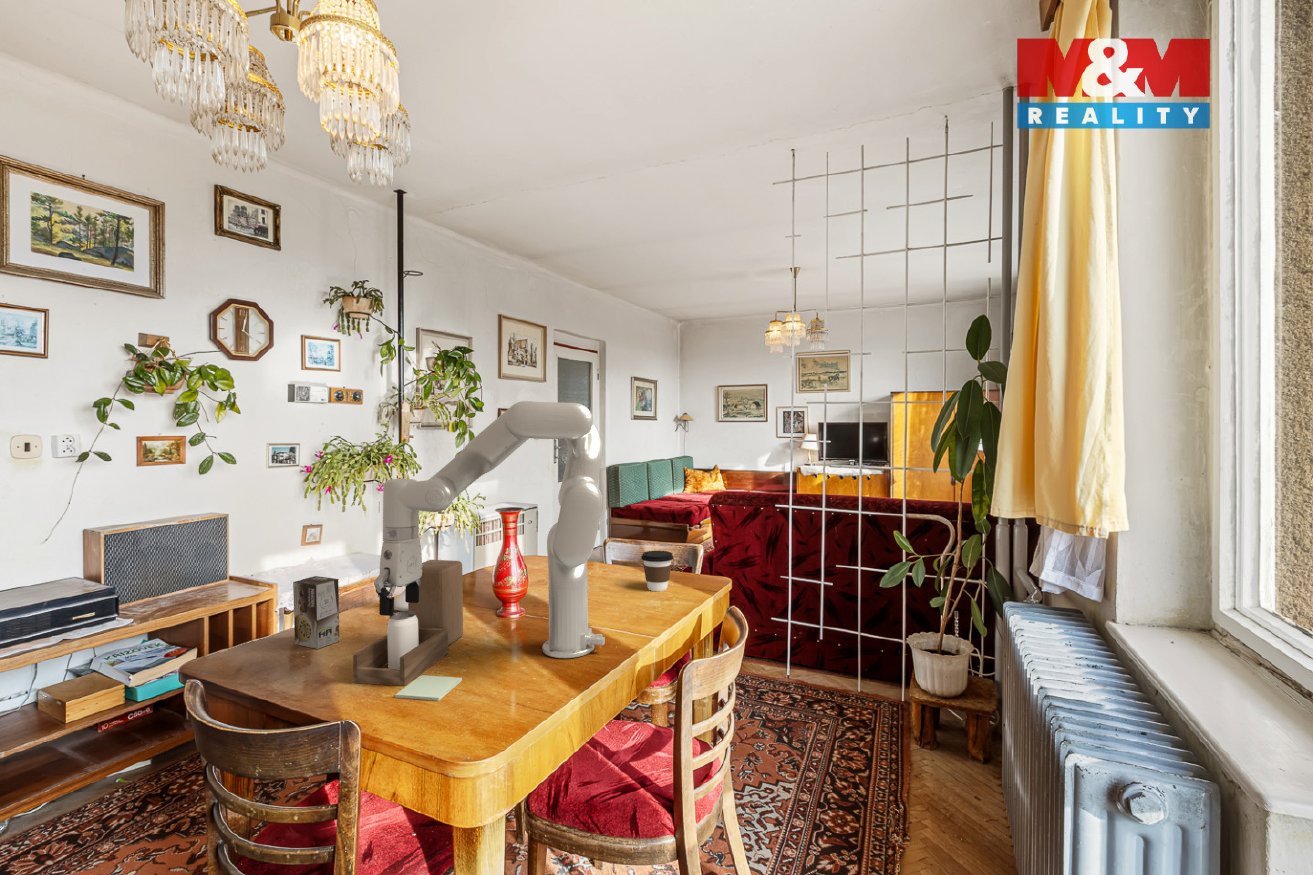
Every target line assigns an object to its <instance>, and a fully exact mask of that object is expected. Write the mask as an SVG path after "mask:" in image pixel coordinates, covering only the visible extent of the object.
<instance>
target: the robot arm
mask: <svg viewBox="0 0 1313 875" xmlns="http://www.w3.org/2000/svg"><path fill="white" fill-rule="evenodd" d="M529 439H536V440H537V439H538V440H539V439H541V440H565V442H566V445H567V454H566V455H567V456H566V461H565V467H564V470H563V471H564V473H563V477H562V480H561V485H560V488H559V491H558V496H557V500H558V504H559V506H560V509H559V514H558V518H557V522H555V523H554V524H553V525H552V527H551V528H550V530H549V531H548V534H547V538H546V539H547V540H546V551H547V552H546V553H547V568H548V570H547V572H548V573H547V574H548V640H546V641H545V642H544V643H543V644H542V652H543V653H544V655H546V656H549V657H552V658H556V659H557V658H558V659H571V658H578V657H579V658H580V657H583V656H585V655H588V654H590V653H591V652H593V651H594V649H595V645H596V646H605V643H606V642H605V641H606V638H605V637H604V636H603V634H602V633H597V634H596V633H594V632H592V627H589V604H588V603H589V601H588V600H589V598H588V596H589V594H588V593H589V592H588V591H589V588H588V584H589V581H588V580H589V578H588V576H589V575H588V574H589V573H588V572H589V571H588V561H589V559H590V557H592V554H593V551H594V548H595V545H596V540H597V536H598V530H599V526H600V521H601V516H602V513H603V512H602V511H603V503H604V502H603V494H602V492H601V490H600V488H599V486H598V484H599V477H600V472H601V466H602V459H603V443H602V437H601V435H600V431H599V430H598V428H597V427H596V424H595V423H594V417H593V414H592V412H591V411H590V409H589V408H588V407H587V406H586V405H584V404H581V403H578V402H556V401H555V402H552V401H550V402H549V401H548V402H545V401H533V400H531V401H530V400H521V401H517V402H515V403H514V404H512V405H511V406H510V407H509V408H508V409H506V410H505V411H504V412H503V413H502V414H500V415H499V416H498V417H497V418H496V419H495V420H494V421H492V422H491V423H490V424H489V425H488V426H487V427H485V428H484V429H483V430H481V431H480V432H479V433H478V434H476V436H474V438H472V439H471V440H470V441H469V442H467V444H466V445H465V447H463V449H462V450H461V451H460V452H459V453H458V454H457V455H456V456H454V457H453V458H452V459H451V460H450V461H449V462H448V463H447V464H446V465H444V466H443V467H442V468H441V469H440V470H438V471H437V472H436V473H435V474H434V475H432V476H431V477H430V478H429V479H428V480H419V481H417V480H416V479H413V478H392V479H387V480H386V481H385V482H384V483H383V488H382V545H381V551H380V561H379V575H378V576H377V577H376V578H375V579H374V581H373V585H374V588H375V592H376V594H377V598H378V599H379V601H378V602H379V605H378V606H379V607H378V608H379V610H378V612H379V613H378V614H379V616H386V617H389V616H392V615H394V613H395V609H394V599H395V597H394V596H393V595H394V593H395V590H396V588H402V587H405V589H404V590H405V602H407V603H418V602H419V586H418V585H420V583H421V581H420V579H421V576H422V570H423V566H424V564H423V558H422V557H423V556H422V555H423V554H422V543H421V539H419V535H420V530H419V529H420V528H419V524H420V520H419V519H420V512H429V513H440V512H443V511H445V510H447V509H448V508H449V507H450V506H451V504H452V503H453V501H454V500H455V499H456V498H457V497H458V496H459V495H460V494H462V493H463V492H464V491H465V490H466V489H467V488H468V487H469V486H471V485H472V484H473V483H474V482H476V481H477V480H478V479H480V478H481V477H482V476H484V475H486V474H487V473H489V472H491V471H493V470H494V469H495V468H497V467H499V465H501V464H502V463H503V462H504V461H505V460H506V459H507V458H508V457H510V456H511V455H512V454H513V453H514V452H516V451H517V449H519V448H520V447H521V446H522V445H524V444H525V443H526V442H527V441H528V440H529ZM407 584H408V585H407ZM387 588H388V589H387Z"/></svg>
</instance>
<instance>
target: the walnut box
mask: <svg viewBox="0 0 1313 875" xmlns="http://www.w3.org/2000/svg"><path fill="white" fill-rule="evenodd" d="M418 641H419V645H418V646H417V647H415V648H414V649H412V650H411V651H409V652H408V653H406V654H405V655H403V656H402V657H400V669H388V668H385V667H384V666H386V665H388V639H387V635H385V636H383V637H381V638H380V639H378V640H376V641H373V643H371V644H369V645H367V646H365V647H364V648H362V649H360V650H359V651H357V652H355V653H353V654H352V669H353V670H352V672H353V673H352V674H353V676H352V678H353V679H352V682H353V683H358V684H368V685H369V684H372V685H373V684H374V685H382V686H383V685H386V686H398V687H399V686H401V687H406V685H409V684H410V683H411V682H413V681H414V680H415V679H417V678H418V677H419V676H421V675H422V674H423V673H424V672H425V671H427V670H428V669H430V668H431V667H433V664H434V663H435V664H436V663H437V662H439V661H440V660H442V659H444V657H446V656H447V655H448V654H449V645H448V629H440V628H420V627H418ZM446 654H447V655H446ZM445 655H446V656H445ZM385 664H386V665H385ZM435 664H434V665H435ZM382 667H384V668H382Z"/></svg>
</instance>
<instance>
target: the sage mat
mask: <svg viewBox="0 0 1313 875" xmlns="http://www.w3.org/2000/svg"><path fill="white" fill-rule="evenodd" d="M462 681H463V677H454V676H439V675H438V676H437V675H426V674H423V675H422V674H420V675H419V676H417V677H416V678H415V679H413V680H412V681H411V682H409V683H408V684H407V686H406V685H405V686H404V688H402V689H401V690H399V691H397V692H396V694H395V695H394V696H395V699H410V700H420V701H421V700H422V701H423V700H425V701H434V702H436V701H437V702H439V701H440V700H442V699H443V698H444V697H445V696H446V695H447V694H448V693H450V692H451V691H452V690H453V689H454V688H456V687H457V686H458V685H459V684H460V683H461V682H462Z"/></svg>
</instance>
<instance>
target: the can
mask: <svg viewBox="0 0 1313 875" xmlns="http://www.w3.org/2000/svg"><path fill="white" fill-rule="evenodd" d="M388 617H389V620H388V621H387V627H386V628H387V629H386V630H387V634H386V636H387V639H388V663H387V667H388V668H387V669H400V657H402V656H403V655H405V654H406V653H408V652H409V651H411V650H412V649H414V648H415V647H417V646H418V645H419V641H418V619H417V617H416V613H415V612H412V611H398V612H394V615H392V616H388Z"/></svg>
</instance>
